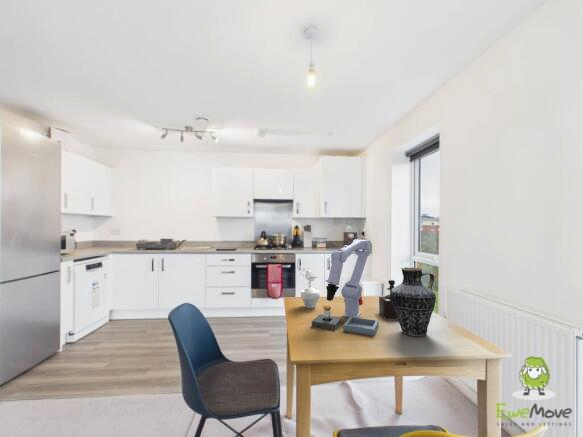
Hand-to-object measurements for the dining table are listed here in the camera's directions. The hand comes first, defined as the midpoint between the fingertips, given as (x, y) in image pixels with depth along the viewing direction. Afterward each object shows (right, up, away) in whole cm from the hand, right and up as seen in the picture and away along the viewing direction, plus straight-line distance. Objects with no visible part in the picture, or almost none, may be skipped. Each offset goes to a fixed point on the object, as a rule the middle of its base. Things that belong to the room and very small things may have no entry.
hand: (329, 300), depth 145 cm
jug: (+38, -13, -10) cm, 41 cm away
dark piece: (+36, -13, +19) cm, 43 cm away
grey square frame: (-1, -13, +2) cm, 13 cm away
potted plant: (-7, -13, +31) cm, 34 cm away
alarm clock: (+21, -14, +43) cm, 50 cm away
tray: (+15, -13, -5) cm, 20 cm away
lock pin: (-1, -13, +2) cm, 13 cm away
